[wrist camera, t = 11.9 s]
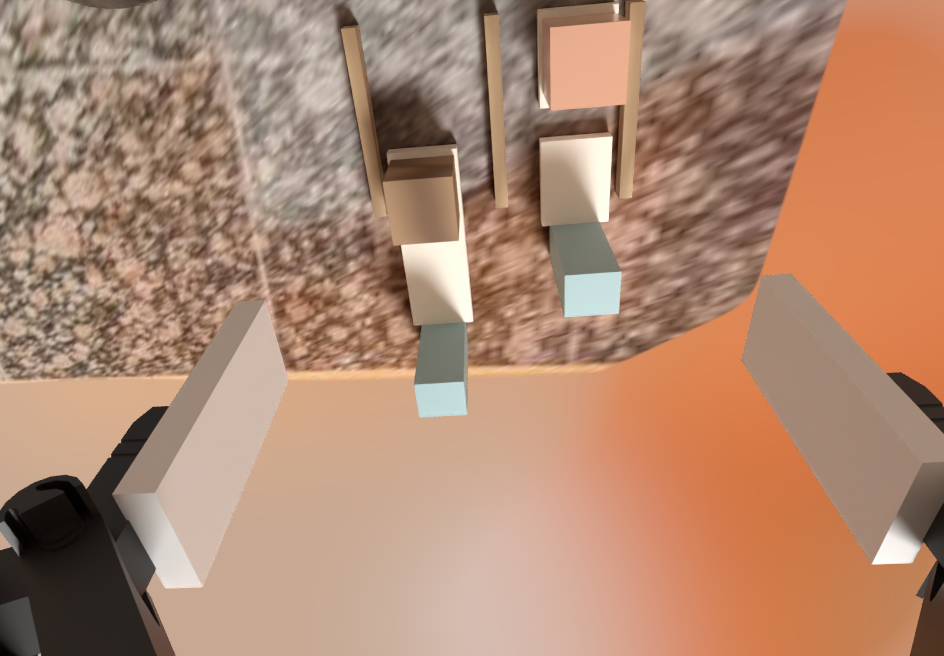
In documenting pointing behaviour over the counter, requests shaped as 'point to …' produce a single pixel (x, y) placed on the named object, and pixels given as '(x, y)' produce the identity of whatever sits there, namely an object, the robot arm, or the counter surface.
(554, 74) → the block clay
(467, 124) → the counter surface
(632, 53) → the lane frame
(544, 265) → the counter surface
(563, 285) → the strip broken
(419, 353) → the multicoloured block
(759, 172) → the counter surface
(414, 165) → the block walnut
